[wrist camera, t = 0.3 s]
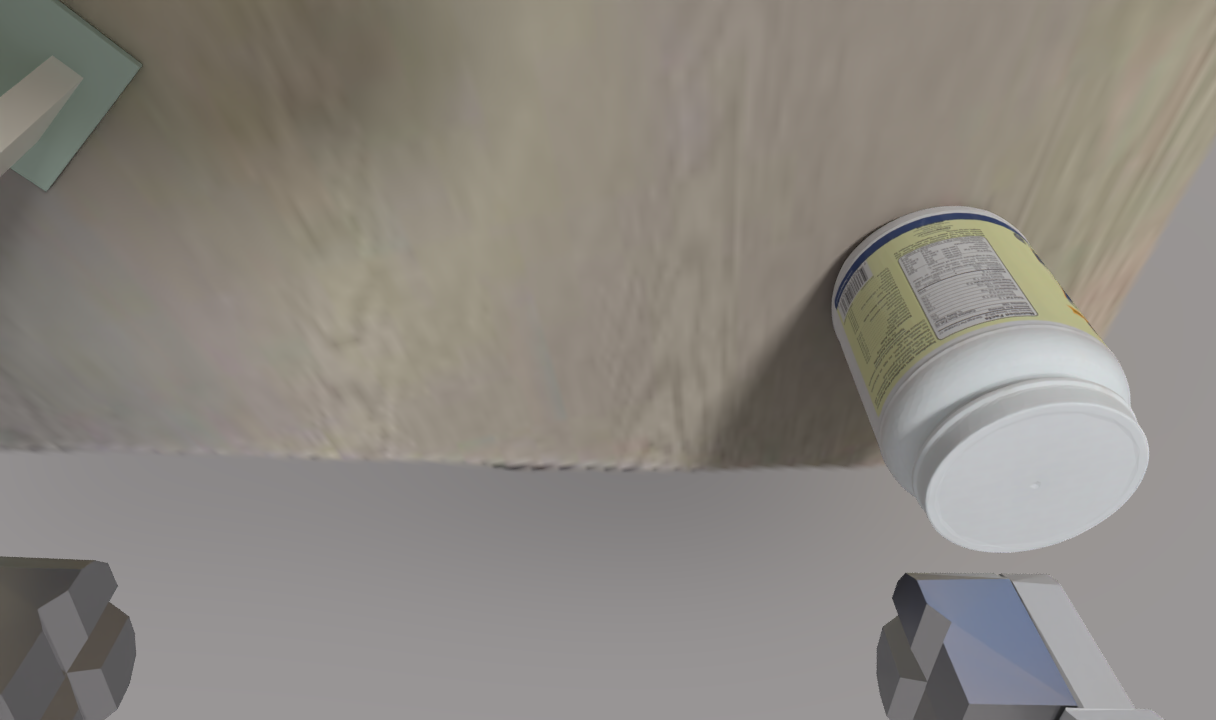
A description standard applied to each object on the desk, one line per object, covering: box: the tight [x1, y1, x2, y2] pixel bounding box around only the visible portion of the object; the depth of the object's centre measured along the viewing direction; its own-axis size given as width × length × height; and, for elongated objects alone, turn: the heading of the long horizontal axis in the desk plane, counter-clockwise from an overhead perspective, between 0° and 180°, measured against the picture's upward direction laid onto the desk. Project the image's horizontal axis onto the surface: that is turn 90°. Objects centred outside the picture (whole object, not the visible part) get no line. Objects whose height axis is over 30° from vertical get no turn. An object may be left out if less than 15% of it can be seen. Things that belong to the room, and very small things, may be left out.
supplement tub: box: [832, 206, 1149, 553], centre depth 48 cm, size 12×12×17 cm
